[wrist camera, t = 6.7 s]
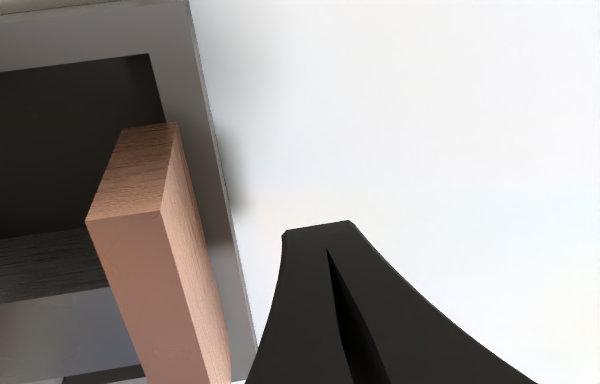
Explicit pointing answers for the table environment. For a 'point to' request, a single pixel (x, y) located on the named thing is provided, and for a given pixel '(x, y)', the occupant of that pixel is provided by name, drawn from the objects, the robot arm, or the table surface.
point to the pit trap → (110, 133)
